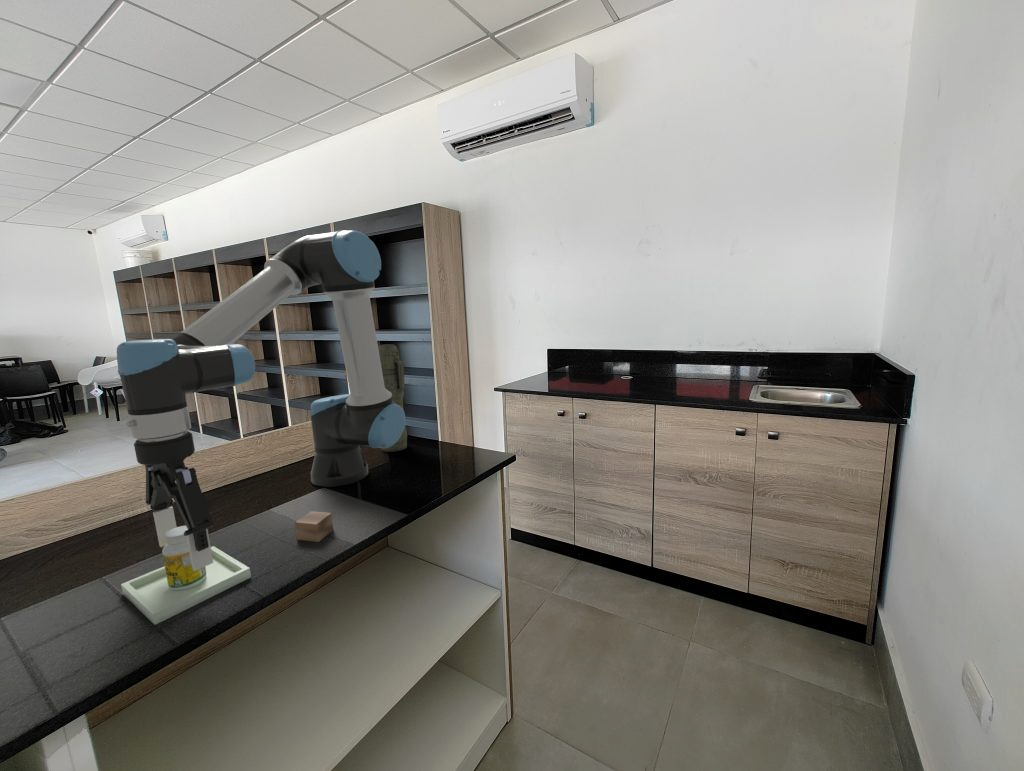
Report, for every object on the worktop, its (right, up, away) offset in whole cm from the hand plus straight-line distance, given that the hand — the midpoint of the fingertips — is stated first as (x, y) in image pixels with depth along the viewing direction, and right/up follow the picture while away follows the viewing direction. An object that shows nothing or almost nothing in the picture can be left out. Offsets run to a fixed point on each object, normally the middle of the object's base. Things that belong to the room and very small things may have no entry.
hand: (185, 554), depth 75 cm
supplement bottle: (0, -5, +1) cm, 5 cm away
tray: (0, -6, +1) cm, 6 cm away
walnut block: (+15, -3, +17) cm, 23 cm away
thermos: (+16, +8, +74) cm, 76 cm away
